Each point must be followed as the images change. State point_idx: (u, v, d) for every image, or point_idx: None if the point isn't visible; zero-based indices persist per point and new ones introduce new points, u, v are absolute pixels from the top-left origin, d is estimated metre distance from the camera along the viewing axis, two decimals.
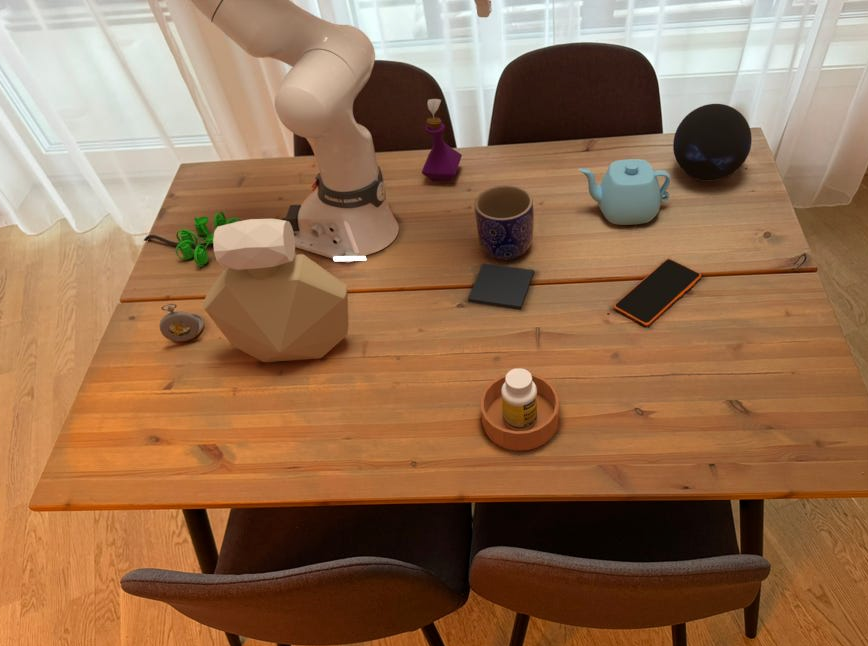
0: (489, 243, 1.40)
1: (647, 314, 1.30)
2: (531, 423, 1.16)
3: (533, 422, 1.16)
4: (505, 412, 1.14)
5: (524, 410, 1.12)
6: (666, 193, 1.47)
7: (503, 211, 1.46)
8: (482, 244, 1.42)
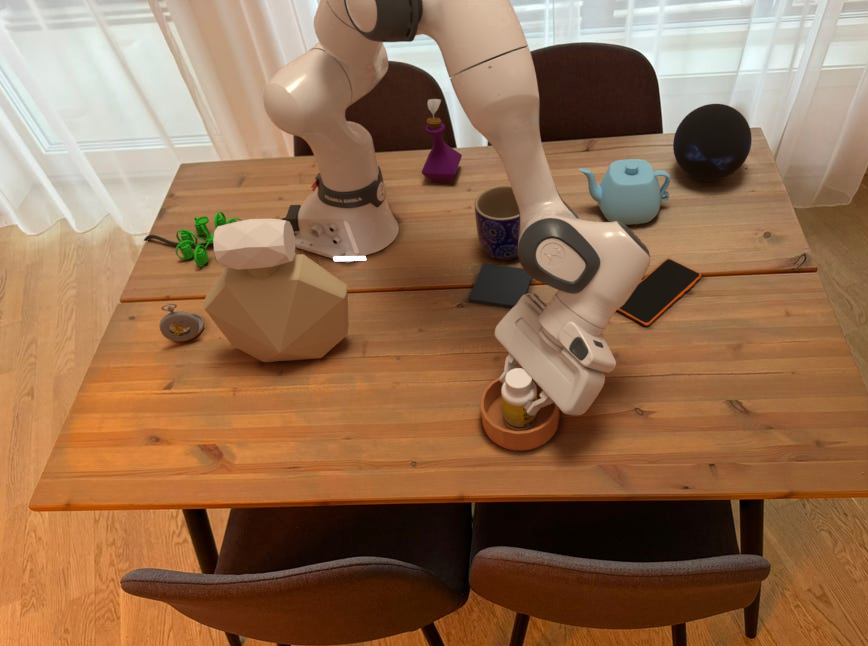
0: (489, 243, 1.40)
1: (647, 314, 1.30)
2: (531, 423, 1.16)
3: (533, 422, 1.16)
4: (505, 412, 1.14)
5: (524, 410, 1.12)
6: (666, 193, 1.47)
7: (503, 211, 1.46)
8: (482, 244, 1.42)
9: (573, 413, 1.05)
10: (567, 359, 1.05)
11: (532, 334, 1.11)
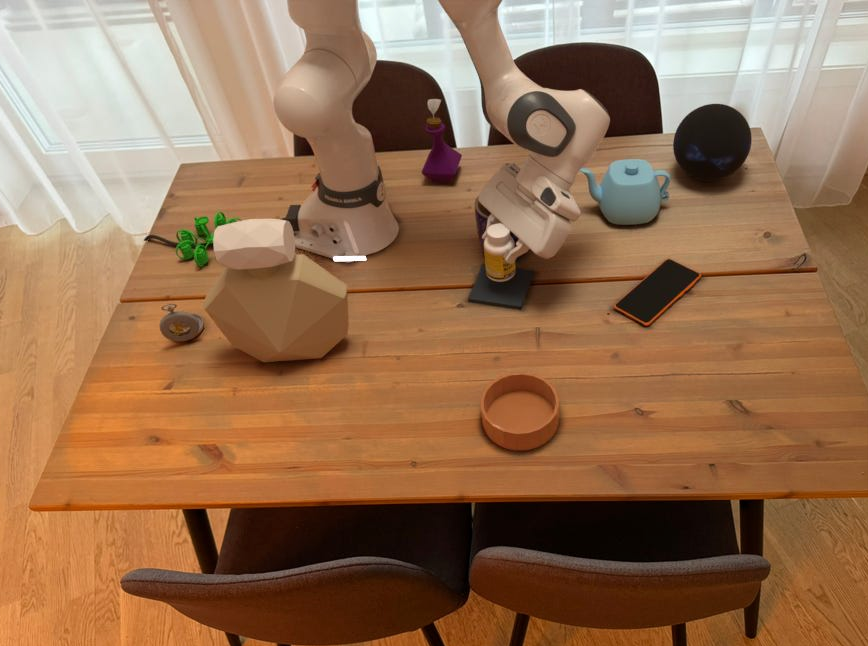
0: None
1: (647, 314, 1.30)
2: (510, 275, 1.34)
3: (512, 274, 1.34)
4: (487, 264, 1.33)
5: (504, 260, 1.31)
6: (666, 193, 1.47)
7: None
8: (482, 244, 1.42)
9: (544, 254, 1.24)
10: (539, 208, 1.24)
11: (510, 194, 1.30)
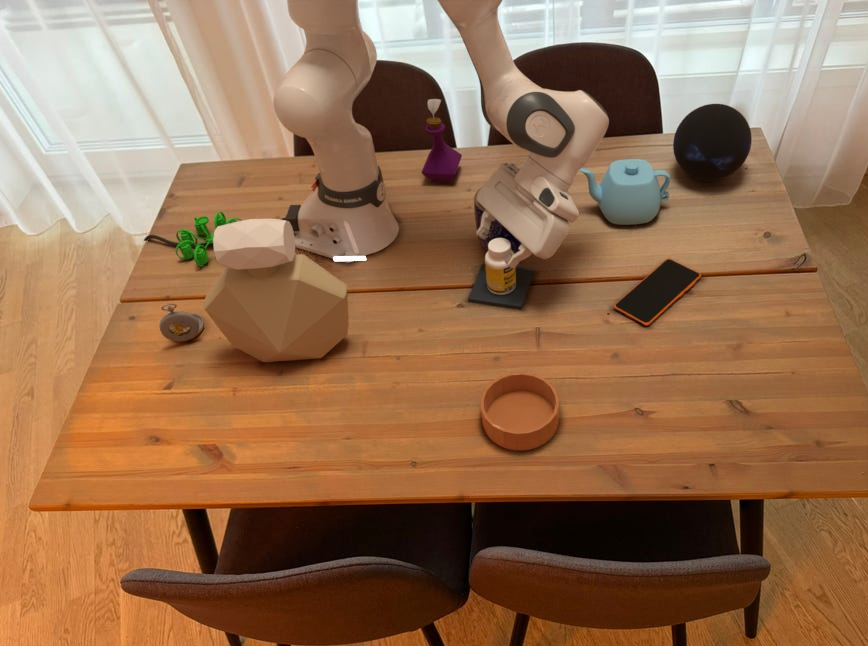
0: None
1: (647, 314, 1.30)
2: (510, 288, 1.36)
3: (512, 287, 1.36)
4: (488, 277, 1.34)
5: (504, 274, 1.32)
6: (666, 193, 1.47)
7: None
8: (480, 238, 1.43)
9: (542, 254, 1.24)
10: (537, 208, 1.24)
11: (508, 194, 1.30)
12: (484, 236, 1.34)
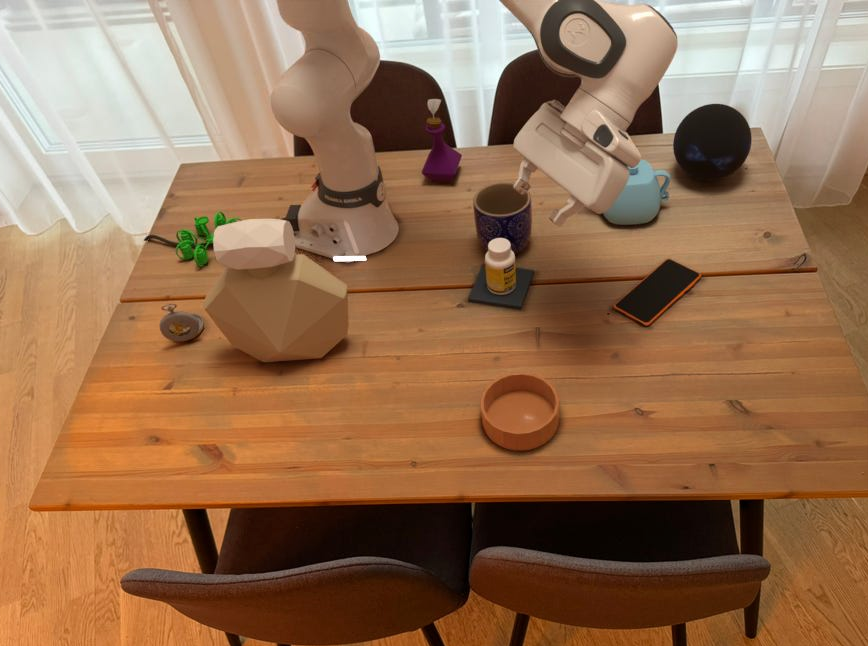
0: (486, 239, 1.41)
1: (647, 314, 1.30)
2: (510, 288, 1.36)
3: (512, 287, 1.36)
4: (488, 277, 1.34)
5: (504, 274, 1.32)
6: (666, 193, 1.47)
7: (503, 207, 1.47)
8: (479, 239, 1.43)
9: (597, 207, 1.01)
10: (591, 151, 1.01)
11: (553, 137, 1.08)
12: (523, 190, 1.12)
